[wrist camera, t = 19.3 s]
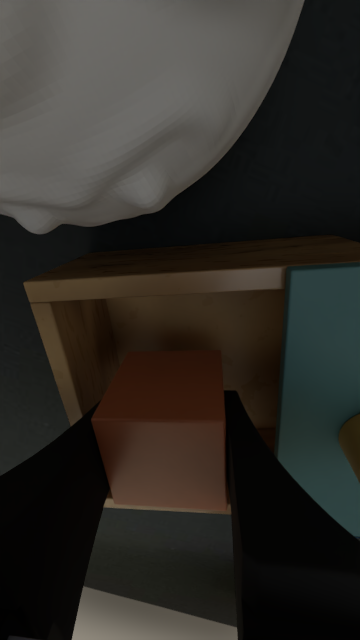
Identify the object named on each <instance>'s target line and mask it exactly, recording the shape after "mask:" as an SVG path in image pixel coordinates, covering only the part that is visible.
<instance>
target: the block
mask: <svg viewBox="0 0 360 640" xmlns="http://www.w3.org/2000/svg"><path fill="white" fill-rule="evenodd" d="M91 422H92V425H93V429H94V432H95V436H96V440H97V443H98V447H99V451H100V454H101V458H102V461H103V465H104V469H105V472H106V476H107V479H108V483H109V487H110V490H111V494H112V497H113V501H114V504H116V505H133V506H149V507H166V508H182V509H199V510H215V511H227V461H226V418H225V401H224V385H223V368H222V352H221V350H191V351H131V352H128V353H127V354H126V356H125V358H124V360H123V362H122V364H121V365H120V367H119V369H118V371H117V373H116V374H115V376H114V378H113V380H112V382H111V384H110V385H109V387H108V389H107V391H106V393H105V394H104V396H103V398H102V400H101V402H100V404H99V405H98V407H97V409H96V411H95V413H94V414H93V416H92V418H91Z"/></svg>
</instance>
